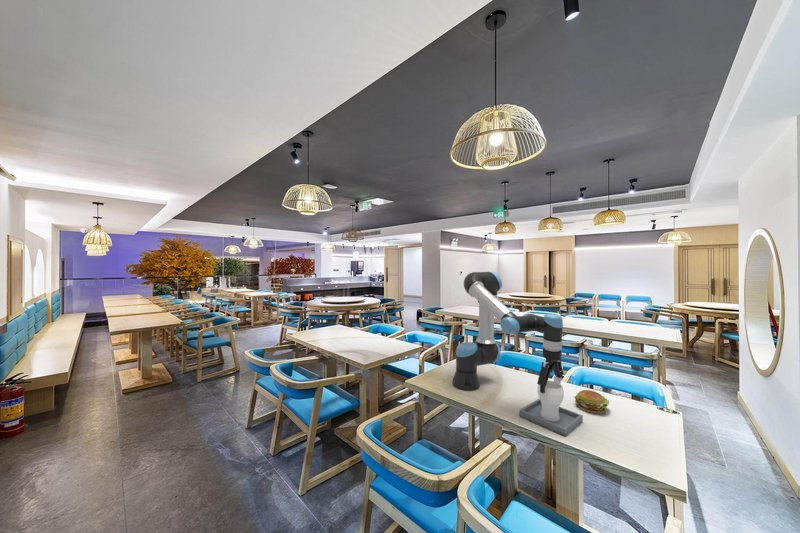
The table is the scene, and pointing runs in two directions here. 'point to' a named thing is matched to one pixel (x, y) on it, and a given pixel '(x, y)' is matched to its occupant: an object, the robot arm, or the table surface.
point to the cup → (551, 401)
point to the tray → (561, 427)
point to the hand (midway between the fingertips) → (550, 395)
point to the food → (591, 401)
